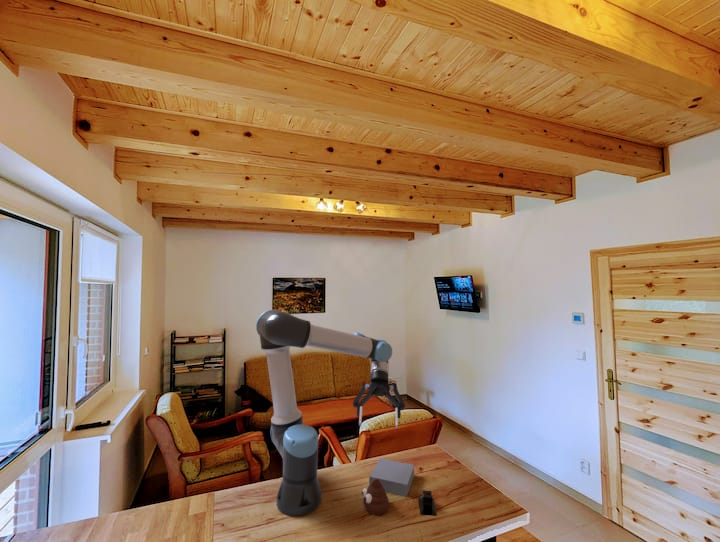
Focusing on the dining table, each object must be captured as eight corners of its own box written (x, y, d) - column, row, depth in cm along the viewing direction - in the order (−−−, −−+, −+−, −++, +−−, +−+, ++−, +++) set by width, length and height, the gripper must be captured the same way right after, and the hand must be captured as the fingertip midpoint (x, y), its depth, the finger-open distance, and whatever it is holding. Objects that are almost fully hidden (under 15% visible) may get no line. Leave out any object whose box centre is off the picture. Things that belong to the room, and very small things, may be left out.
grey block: (369, 487, 122) (369, 476, 122) (379, 468, 135) (380, 458, 135) (406, 496, 117) (407, 484, 117) (414, 475, 130) (414, 465, 130)
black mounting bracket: (440, 522, 106) (440, 507, 106) (417, 520, 106) (417, 505, 106) (435, 497, 118) (435, 483, 118) (414, 495, 119) (414, 482, 119)
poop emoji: (393, 513, 108) (393, 484, 109) (368, 518, 106) (368, 488, 106) (381, 495, 118) (382, 468, 118) (358, 499, 115) (359, 471, 116)
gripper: (409, 379, 141) (411, 431, 125) (350, 377, 143) (345, 428, 127) (409, 370, 136) (412, 422, 120) (349, 368, 138) (344, 419, 122)
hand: (378, 425), depth 123 cm, fingers open, 13 cm apart
